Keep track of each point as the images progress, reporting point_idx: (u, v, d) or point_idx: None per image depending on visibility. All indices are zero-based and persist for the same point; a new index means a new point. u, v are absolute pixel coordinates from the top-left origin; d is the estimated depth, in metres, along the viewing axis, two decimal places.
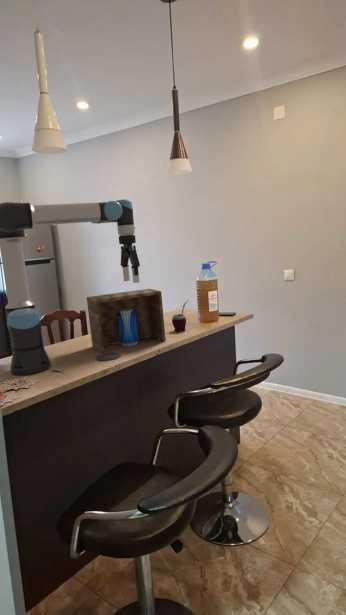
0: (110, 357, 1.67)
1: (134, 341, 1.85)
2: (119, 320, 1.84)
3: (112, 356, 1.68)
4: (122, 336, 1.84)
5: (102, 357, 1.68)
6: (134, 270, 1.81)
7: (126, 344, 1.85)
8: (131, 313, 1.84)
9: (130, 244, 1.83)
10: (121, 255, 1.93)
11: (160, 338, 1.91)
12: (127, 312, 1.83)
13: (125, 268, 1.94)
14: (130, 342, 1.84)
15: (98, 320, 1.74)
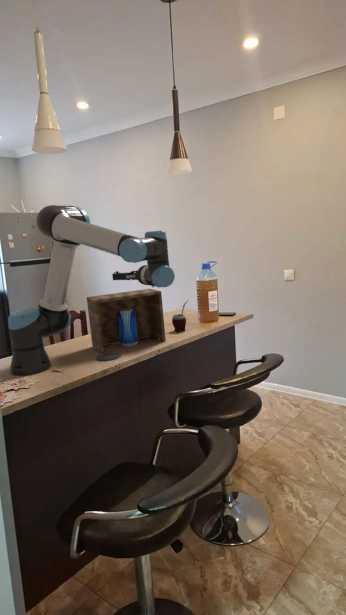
0: (110, 357, 1.67)
1: (134, 341, 1.85)
2: (119, 320, 1.84)
3: (112, 356, 1.68)
4: (122, 336, 1.84)
5: (102, 357, 1.68)
6: None
7: (126, 344, 1.85)
8: (131, 313, 1.84)
9: (135, 276, 1.56)
10: None
11: (160, 338, 1.91)
12: (127, 312, 1.83)
13: None
14: (130, 342, 1.84)
15: (98, 320, 1.74)
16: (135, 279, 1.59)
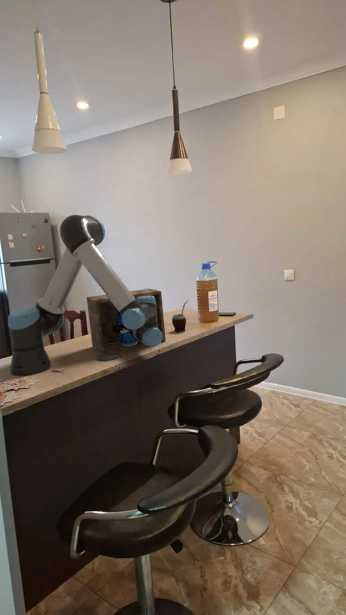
0: (110, 357, 1.67)
1: (134, 341, 1.85)
2: (119, 320, 1.84)
3: (112, 356, 1.68)
4: (122, 336, 1.84)
5: (102, 357, 1.68)
6: (116, 325, 1.84)
7: (126, 344, 1.85)
8: None
9: (129, 331, 1.73)
10: None
11: None
12: None
13: None
14: (130, 342, 1.84)
15: (98, 320, 1.74)
16: None
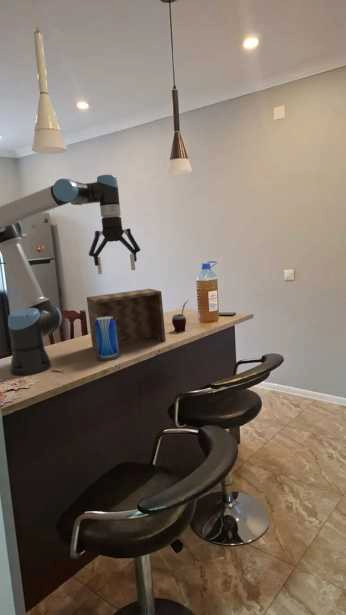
0: None
1: (113, 353, 1.66)
2: (97, 329, 1.65)
3: None
4: (100, 347, 1.65)
5: None
6: None
7: (104, 356, 1.66)
8: (110, 321, 1.65)
9: (103, 229, 1.58)
10: None
11: (160, 338, 1.91)
12: (105, 320, 1.64)
13: (130, 255, 1.64)
14: (109, 354, 1.65)
15: None
16: (107, 237, 1.57)
